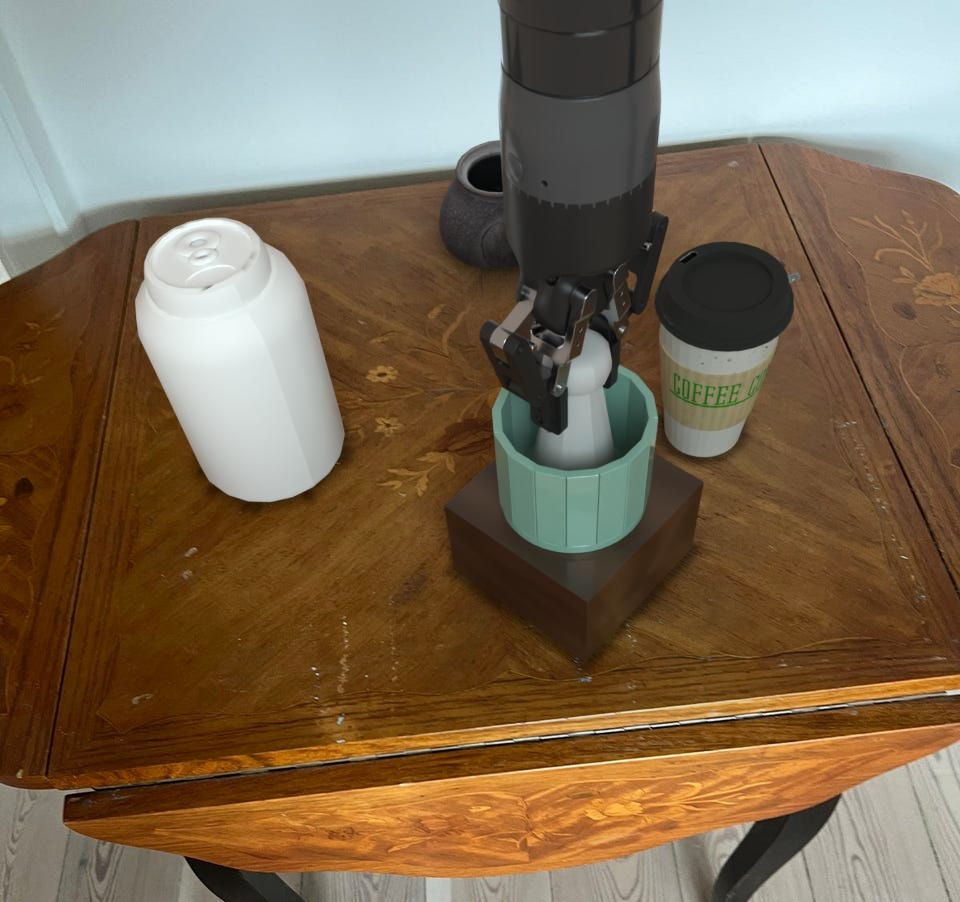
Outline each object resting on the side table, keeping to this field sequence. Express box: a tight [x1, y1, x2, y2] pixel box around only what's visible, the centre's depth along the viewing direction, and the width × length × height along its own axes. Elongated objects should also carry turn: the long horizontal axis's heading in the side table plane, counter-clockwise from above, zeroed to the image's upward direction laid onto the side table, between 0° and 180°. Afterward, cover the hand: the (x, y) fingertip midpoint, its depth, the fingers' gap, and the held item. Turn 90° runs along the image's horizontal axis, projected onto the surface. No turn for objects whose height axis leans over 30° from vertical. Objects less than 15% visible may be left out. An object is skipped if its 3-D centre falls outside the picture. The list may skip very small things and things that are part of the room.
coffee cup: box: [653, 241, 795, 458], centre depth 77 cm, size 10×10×15 cm
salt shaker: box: [531, 327, 616, 471], centre depth 64 cm, size 6×6×13 cm
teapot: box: [438, 139, 520, 271], centre depth 92 cm, size 19×15×10 cm
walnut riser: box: [443, 452, 705, 663], centre depth 74 cm, size 13×13×8 cm
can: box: [134, 217, 346, 503], centre depth 77 cm, size 12×12×20 cm
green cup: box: [491, 364, 659, 553], centre depth 67 cm, size 10×10×8 cm
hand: (575, 401), depth 63 cm, fingers closed on salt shaker, 4 cm apart
